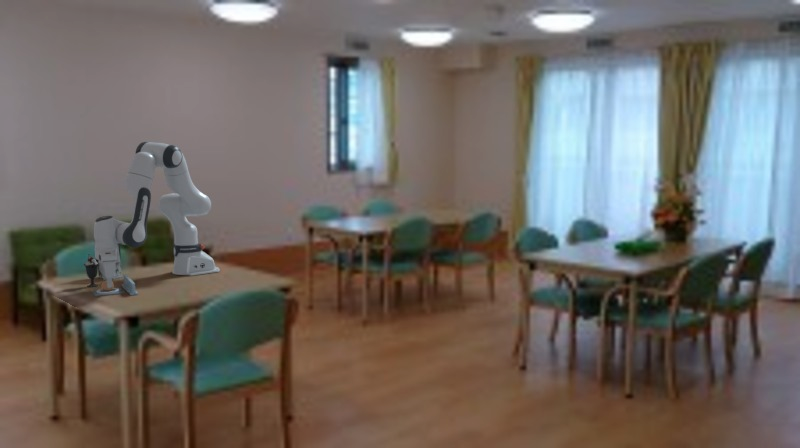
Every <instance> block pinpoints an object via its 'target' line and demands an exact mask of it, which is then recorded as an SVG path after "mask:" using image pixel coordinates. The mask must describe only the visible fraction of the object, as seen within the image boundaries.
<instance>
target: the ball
mask: <svg viewBox="0 0 800 448" xmlns="http://www.w3.org/2000/svg"><path fill="white" fill-rule="evenodd" d="M113 288H115V284H114V282H113V281H112V287H111V288H108V287H107V280H106V281H103V282H102V283H101V289H103V290H104V291H106V292H109V291H111V290H112V289H113Z"/></svg>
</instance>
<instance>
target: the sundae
mask: <svg viewBox="0 0 800 448" xmlns="http://www.w3.org/2000/svg"><path fill="white" fill-rule="evenodd" d="M98 265H99V263H98V259H95V257H93V256H91V255H90V254H88V258H87V261H86V262H85V263H84V264H83V266H84V267H85V271H86V276H87V277H88V278H89V279H90V284H88V285H87V286H86V287H87V288H97V287H99V284H95V281H94V280H95V278H96V277H97V276H98Z"/></svg>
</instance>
